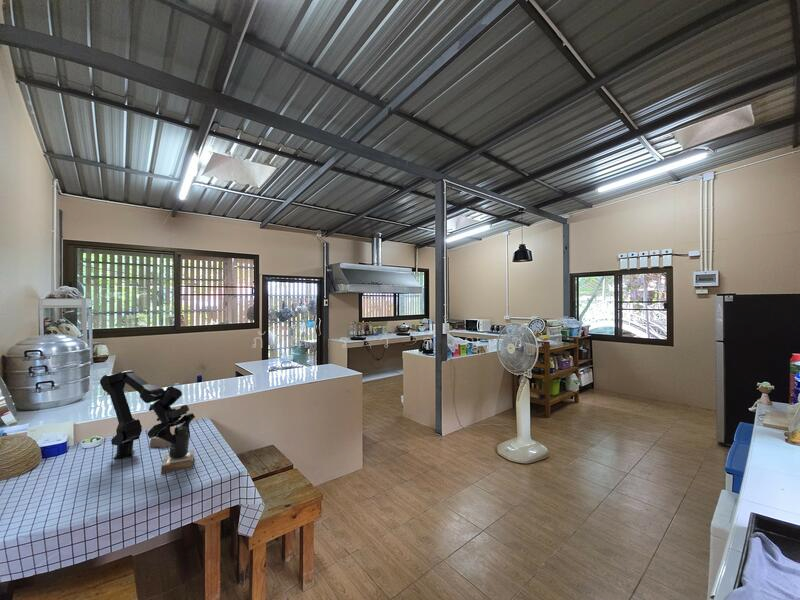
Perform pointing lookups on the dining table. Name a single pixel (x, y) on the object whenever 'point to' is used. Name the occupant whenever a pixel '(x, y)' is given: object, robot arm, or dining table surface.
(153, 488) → the dining table surface
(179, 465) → the plate
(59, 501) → the dining table surface
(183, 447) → the supplement bottle
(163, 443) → the brick
